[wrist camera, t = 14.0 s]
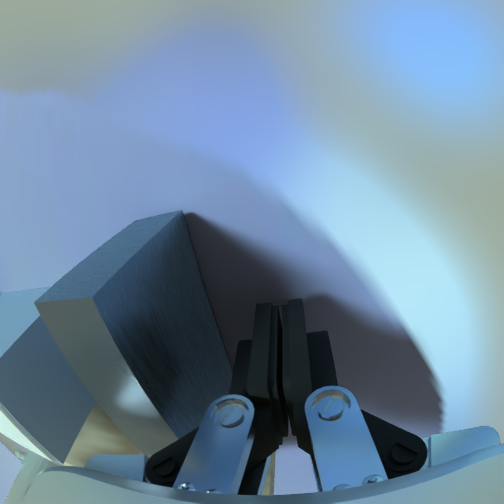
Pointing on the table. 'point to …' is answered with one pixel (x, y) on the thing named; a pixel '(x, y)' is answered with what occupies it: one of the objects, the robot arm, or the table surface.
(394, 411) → the table surface
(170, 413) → the bookend
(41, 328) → the pale grey block
